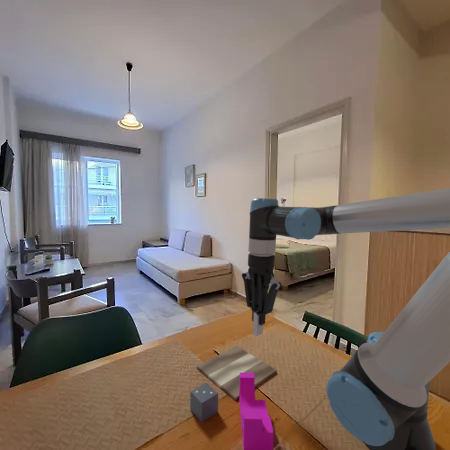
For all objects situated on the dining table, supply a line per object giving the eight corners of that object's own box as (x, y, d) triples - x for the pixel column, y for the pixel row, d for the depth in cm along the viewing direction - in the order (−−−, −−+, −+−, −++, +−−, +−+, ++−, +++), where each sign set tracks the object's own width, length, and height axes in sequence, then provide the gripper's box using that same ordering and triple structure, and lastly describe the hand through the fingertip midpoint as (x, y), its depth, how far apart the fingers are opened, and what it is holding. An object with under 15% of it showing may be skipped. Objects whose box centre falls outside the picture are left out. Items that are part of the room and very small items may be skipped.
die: (218, 411, 64) (218, 392, 64) (201, 422, 61) (201, 402, 60) (206, 400, 68) (206, 381, 68) (190, 410, 65) (190, 390, 64)
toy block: (273, 452, 54) (274, 419, 53) (243, 452, 54) (244, 418, 53) (262, 399, 69) (262, 372, 68) (239, 399, 69) (239, 372, 68)
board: (276, 372, 80) (276, 369, 80) (235, 400, 68) (235, 397, 68) (236, 348, 93) (236, 346, 93) (196, 368, 81) (196, 365, 81)
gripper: (289, 256, 69) (284, 338, 71) (253, 248, 78) (250, 321, 81) (271, 259, 64) (267, 348, 66) (236, 250, 73) (232, 328, 76)
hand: (257, 333), depth 73 cm, fingers closed
